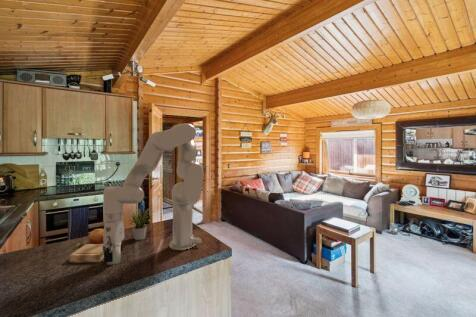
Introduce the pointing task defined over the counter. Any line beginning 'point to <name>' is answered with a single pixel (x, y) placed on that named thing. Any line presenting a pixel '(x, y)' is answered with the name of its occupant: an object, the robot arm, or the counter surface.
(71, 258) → the base
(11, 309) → the counter surface
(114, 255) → the canister
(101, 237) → the fruit
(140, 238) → the house plant
